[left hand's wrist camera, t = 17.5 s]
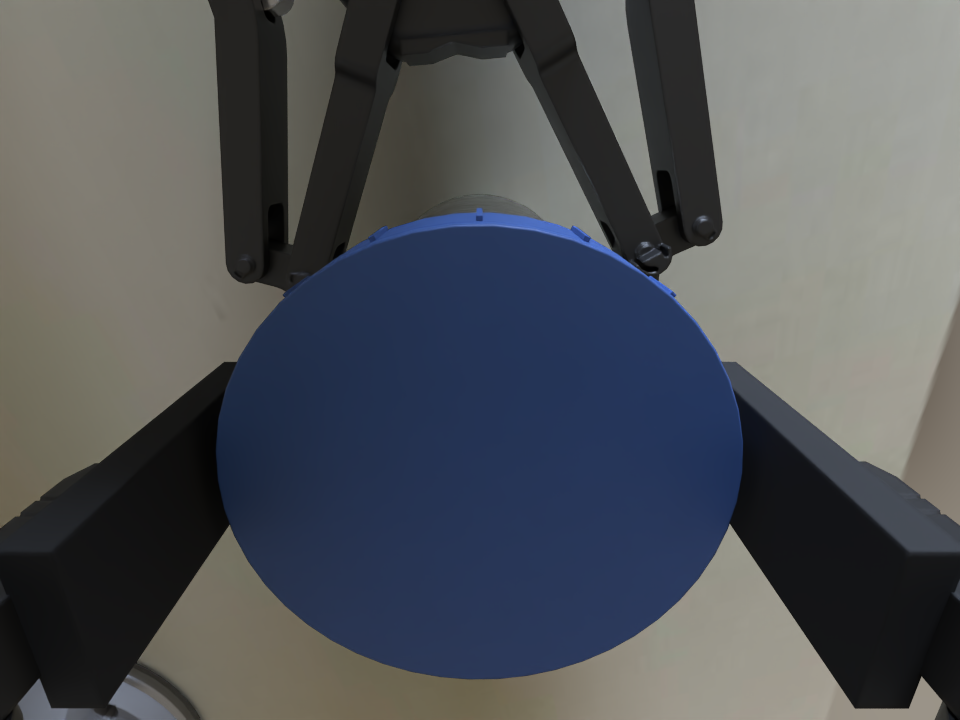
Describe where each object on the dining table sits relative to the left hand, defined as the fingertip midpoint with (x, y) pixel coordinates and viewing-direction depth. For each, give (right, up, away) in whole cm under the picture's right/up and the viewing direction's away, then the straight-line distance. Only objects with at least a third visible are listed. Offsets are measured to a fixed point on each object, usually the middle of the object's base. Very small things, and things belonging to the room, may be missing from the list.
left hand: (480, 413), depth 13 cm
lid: (0, -1, -3) cm, 3 cm away
